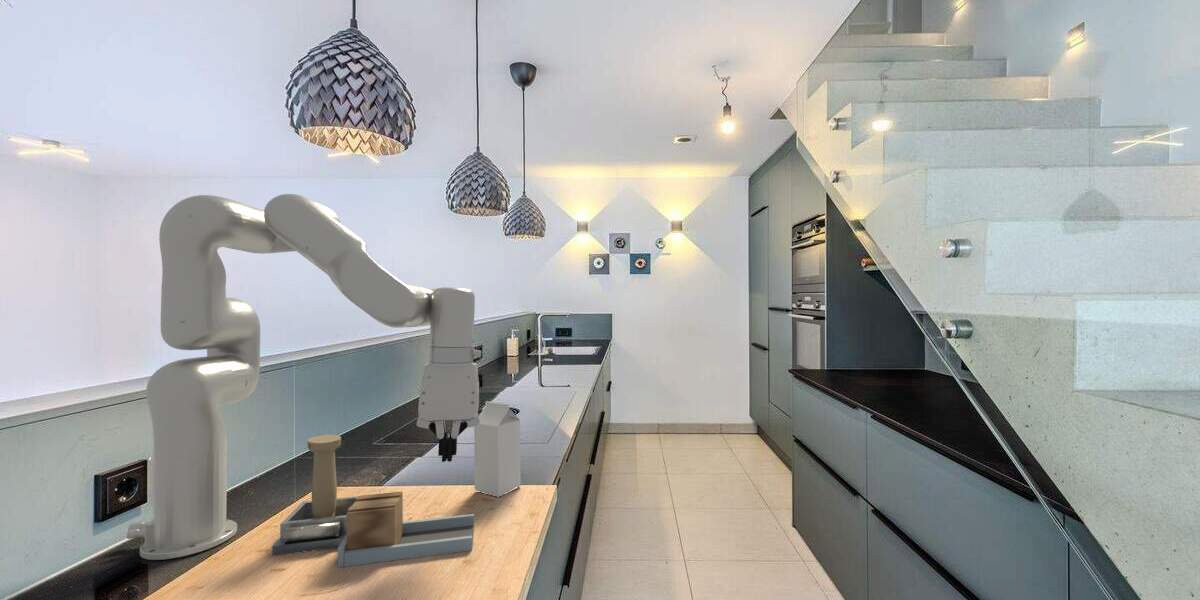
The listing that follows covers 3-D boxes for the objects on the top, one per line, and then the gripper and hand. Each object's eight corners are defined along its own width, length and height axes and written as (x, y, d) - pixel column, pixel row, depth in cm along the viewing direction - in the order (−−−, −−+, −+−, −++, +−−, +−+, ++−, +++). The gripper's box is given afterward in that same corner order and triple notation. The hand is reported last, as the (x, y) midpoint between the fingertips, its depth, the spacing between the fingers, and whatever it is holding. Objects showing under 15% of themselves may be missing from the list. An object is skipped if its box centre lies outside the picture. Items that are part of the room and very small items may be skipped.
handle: (317, 533, 79) (317, 444, 80) (301, 523, 83) (302, 439, 84) (346, 522, 83) (346, 438, 84) (330, 513, 87) (330, 433, 88)
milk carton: (498, 498, 97) (497, 407, 97) (474, 492, 101) (473, 404, 101) (521, 487, 103) (520, 401, 103) (497, 482, 107) (497, 398, 107)
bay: (337, 567, 71) (337, 547, 71) (355, 538, 80) (355, 521, 80) (472, 550, 76) (472, 531, 76) (474, 524, 85) (474, 508, 85)
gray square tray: (272, 555, 75) (272, 530, 75) (301, 523, 87) (301, 501, 87) (346, 546, 77) (346, 522, 78) (365, 516, 89) (365, 495, 89)
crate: (346, 558, 72) (346, 511, 73) (358, 537, 79) (358, 494, 79) (394, 552, 74) (394, 506, 74) (402, 532, 81) (402, 490, 81)
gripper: (493, 354, 89) (490, 451, 88) (410, 354, 85) (406, 454, 85) (493, 358, 81) (490, 464, 81) (402, 358, 78) (398, 468, 77)
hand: (447, 459), depth 83 cm, fingers closed
